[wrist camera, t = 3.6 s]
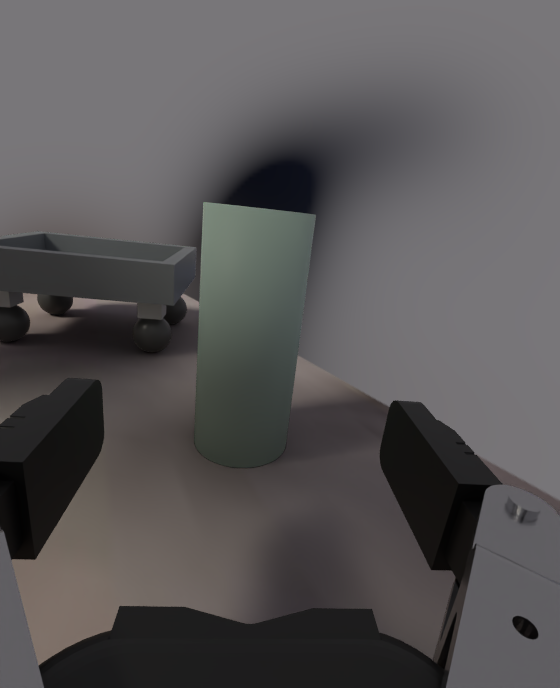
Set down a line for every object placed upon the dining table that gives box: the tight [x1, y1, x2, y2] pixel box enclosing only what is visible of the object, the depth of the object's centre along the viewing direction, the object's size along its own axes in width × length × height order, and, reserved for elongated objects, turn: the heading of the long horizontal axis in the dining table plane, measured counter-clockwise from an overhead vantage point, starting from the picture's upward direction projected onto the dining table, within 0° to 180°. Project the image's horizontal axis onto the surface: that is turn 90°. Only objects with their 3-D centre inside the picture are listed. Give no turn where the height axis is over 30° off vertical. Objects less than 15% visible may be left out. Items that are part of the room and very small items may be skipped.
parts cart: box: [0, 231, 196, 352], centre depth 34 cm, size 15×12×8 cm
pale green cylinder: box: [194, 202, 316, 468], centre depth 19 cm, size 5×5×12 cm
